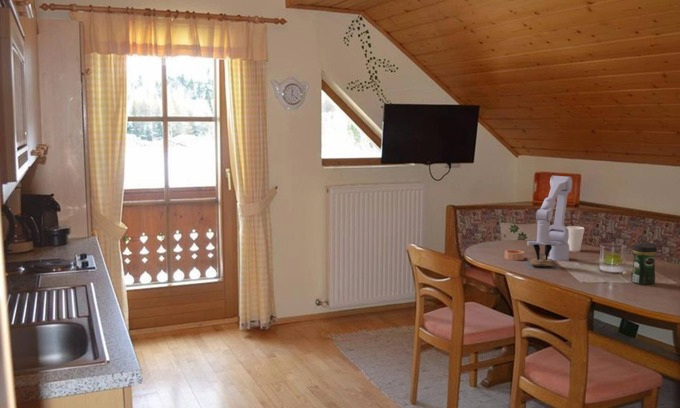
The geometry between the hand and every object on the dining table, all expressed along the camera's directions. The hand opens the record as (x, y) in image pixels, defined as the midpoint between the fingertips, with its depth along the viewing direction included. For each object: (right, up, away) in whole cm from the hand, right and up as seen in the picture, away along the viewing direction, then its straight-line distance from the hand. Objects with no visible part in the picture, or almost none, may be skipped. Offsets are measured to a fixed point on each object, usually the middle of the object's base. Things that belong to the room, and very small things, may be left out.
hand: (541, 259), depth 316 cm
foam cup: (+31, +2, +39) cm, 49 cm away
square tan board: (0, -2, 0) cm, 2 cm away
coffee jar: (+37, -8, -29) cm, 47 cm away
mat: (0, -4, 0) cm, 4 cm away
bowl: (-9, -1, +16) cm, 19 cm away
